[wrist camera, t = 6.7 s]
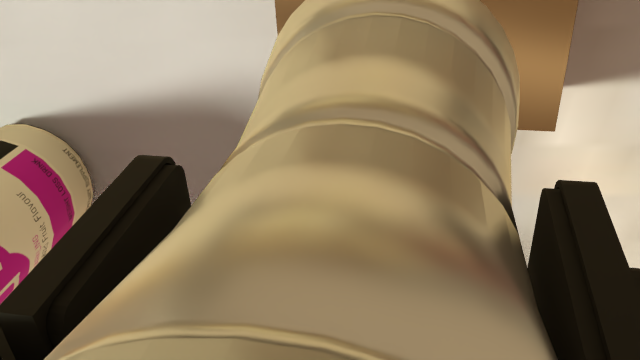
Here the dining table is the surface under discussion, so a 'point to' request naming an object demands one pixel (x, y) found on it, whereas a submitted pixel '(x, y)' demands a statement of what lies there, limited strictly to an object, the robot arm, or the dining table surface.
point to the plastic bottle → (349, 207)
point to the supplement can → (36, 198)
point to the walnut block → (522, 51)
